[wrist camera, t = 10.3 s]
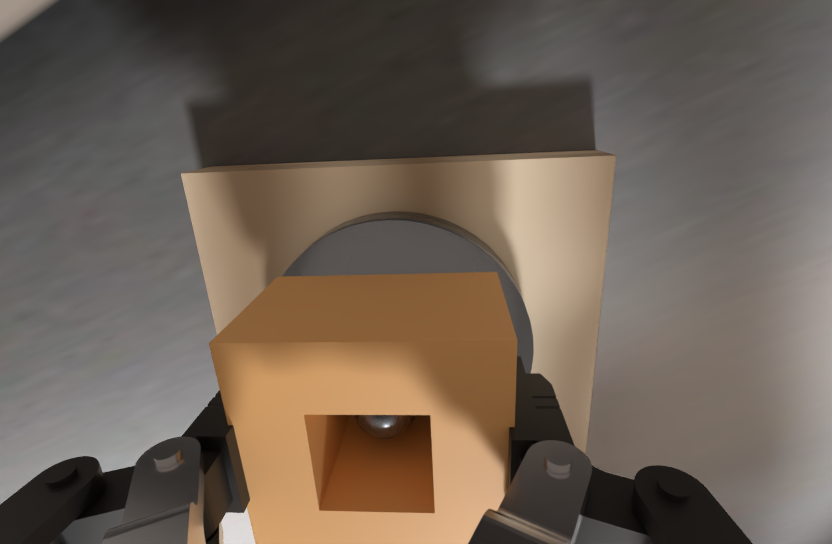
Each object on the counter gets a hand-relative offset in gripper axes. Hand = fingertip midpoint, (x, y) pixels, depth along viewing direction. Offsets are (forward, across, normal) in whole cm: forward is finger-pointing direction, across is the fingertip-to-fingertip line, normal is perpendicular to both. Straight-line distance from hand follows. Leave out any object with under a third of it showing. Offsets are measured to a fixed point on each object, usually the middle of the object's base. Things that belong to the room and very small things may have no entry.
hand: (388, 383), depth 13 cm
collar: (+1, 0, 0) cm, 1 cm away
